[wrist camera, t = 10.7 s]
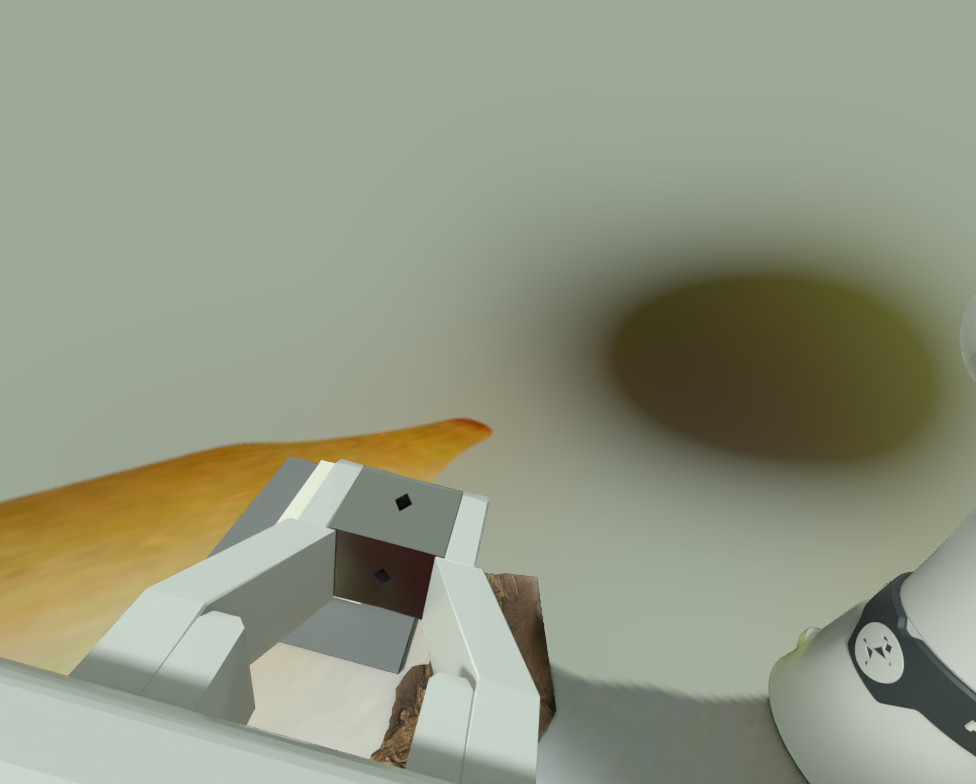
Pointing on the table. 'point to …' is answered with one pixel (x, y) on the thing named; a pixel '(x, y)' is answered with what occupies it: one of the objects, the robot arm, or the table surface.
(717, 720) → the table surface
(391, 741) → the wooden fragment
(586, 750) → the table surface
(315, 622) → the mat
